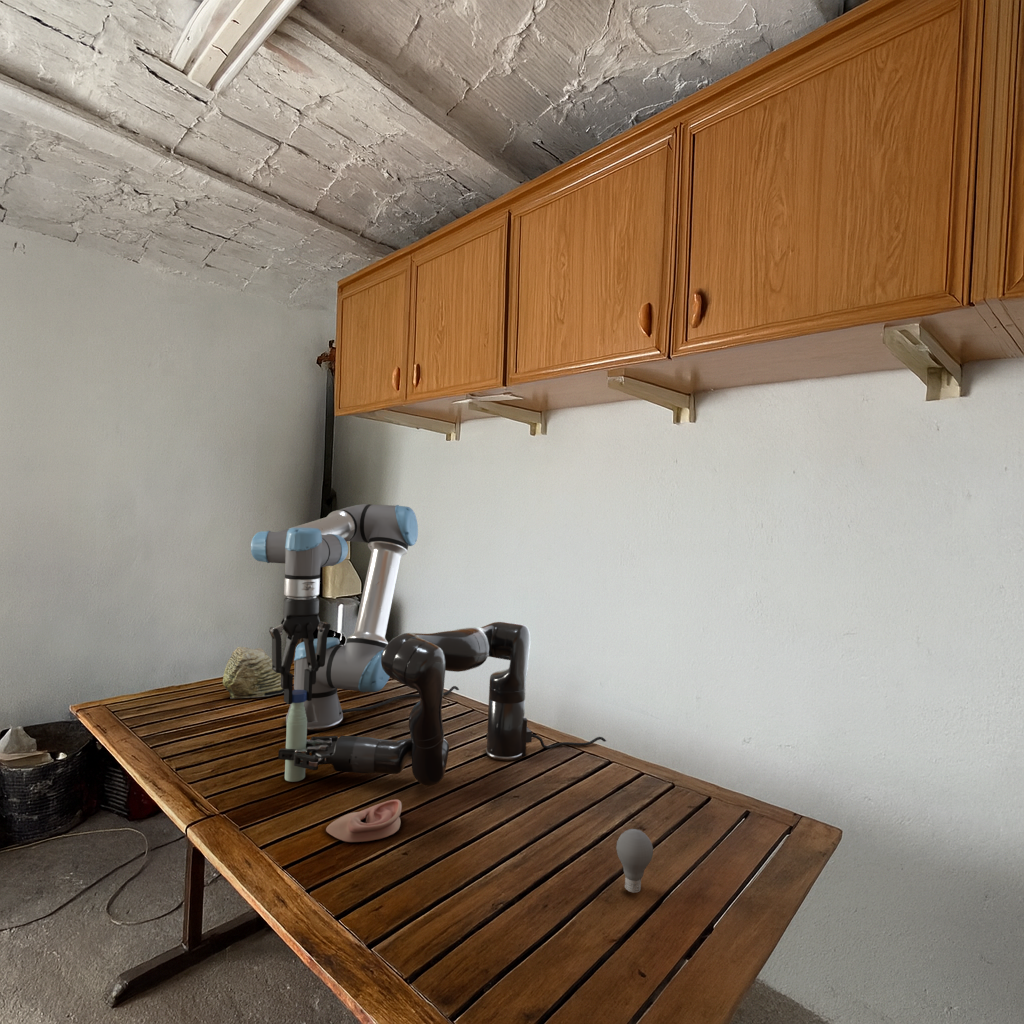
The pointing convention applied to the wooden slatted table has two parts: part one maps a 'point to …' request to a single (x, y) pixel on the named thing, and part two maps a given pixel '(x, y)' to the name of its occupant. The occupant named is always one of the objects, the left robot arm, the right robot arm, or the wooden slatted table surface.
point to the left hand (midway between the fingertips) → (297, 700)
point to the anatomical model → (368, 823)
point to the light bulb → (634, 857)
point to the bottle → (295, 739)
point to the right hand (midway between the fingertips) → (284, 749)
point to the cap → (299, 696)
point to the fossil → (251, 674)
